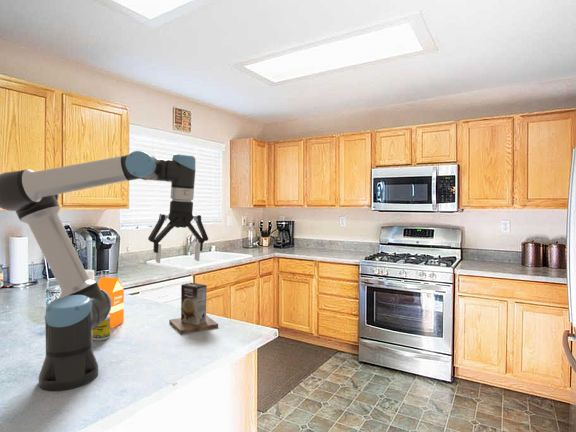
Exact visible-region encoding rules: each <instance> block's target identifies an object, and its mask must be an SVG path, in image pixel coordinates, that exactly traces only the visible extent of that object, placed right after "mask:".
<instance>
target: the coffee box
mask: <svg viewBox="0 0 576 432" xmlns="http://www.w3.org/2000/svg"><path fill="white" fill-rule="evenodd" d="M207 287H208V286H207V284H203V283H196V282H189V283H183V284H181V288H180V289H181V290H180V292H181V293H180V294H181V296H180V299H181V300H180V302H181V303H180V313H181V314H180V318H181V322H184V323H188V324H192V325H199V324H201V323H204V322H206V315H207V293H208V292H207V290H208V288H207Z"/></svg>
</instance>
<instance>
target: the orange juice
mask: <svg viewBox="0 0 576 432" xmlns="http://www.w3.org/2000/svg"><path fill="white" fill-rule="evenodd" d="M97 284H98V286H99V288H100V289H101V290H104V291H105V292H107V293H108V295H109V296H110V298H111V303H112V306H111V310H110V313H109V315H110V328H114V327H116V326H118V325H119V324H122V323H124V322H125V318H124V317H125V316H124V315H125V313H124V311H125V310H124V309H125V302H124V301H125V296H124V295H125V294H124V293H125V292H124V291H125V289H124V287H123V285H122V282H121V281H120V279H119V278H118V277H103V276H100V278H99V281H98V282H97Z"/></svg>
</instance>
